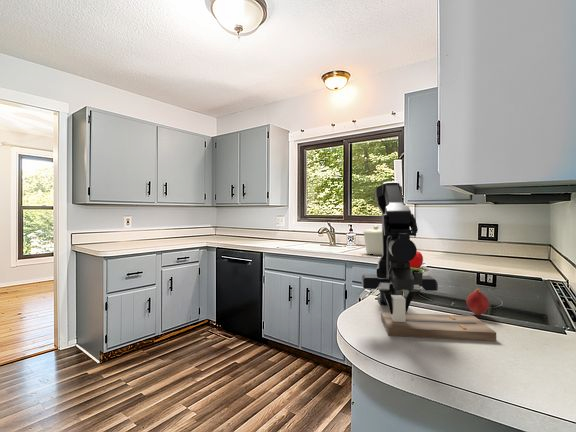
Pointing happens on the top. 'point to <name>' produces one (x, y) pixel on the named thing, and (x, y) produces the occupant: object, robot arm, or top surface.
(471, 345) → the top surface
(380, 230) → the canister
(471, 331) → the fader console
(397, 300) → the fader knob
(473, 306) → the onion
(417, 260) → the tomato
